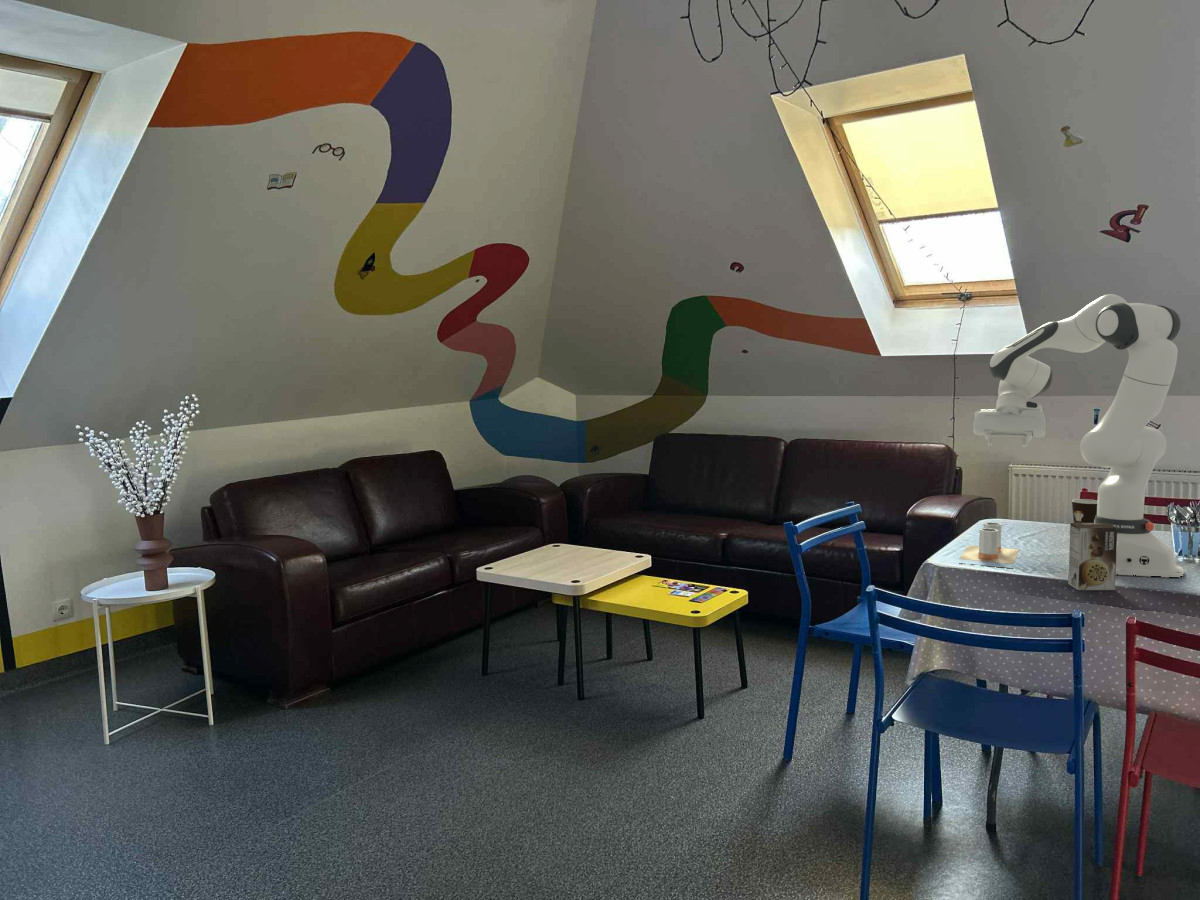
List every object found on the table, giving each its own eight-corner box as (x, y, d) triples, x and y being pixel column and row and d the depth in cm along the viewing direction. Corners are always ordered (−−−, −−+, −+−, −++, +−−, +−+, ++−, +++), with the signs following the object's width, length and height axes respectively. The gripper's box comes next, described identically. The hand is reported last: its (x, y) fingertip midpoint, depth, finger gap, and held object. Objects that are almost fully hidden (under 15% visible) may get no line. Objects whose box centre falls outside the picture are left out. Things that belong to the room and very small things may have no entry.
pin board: (1019, 554, 267) (1019, 536, 266) (1013, 569, 249) (1013, 549, 249) (968, 550, 274) (968, 532, 273) (958, 564, 256) (959, 544, 256)
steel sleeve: (998, 556, 258) (999, 529, 257) (996, 560, 254) (997, 532, 253) (979, 555, 260) (980, 527, 259) (977, 558, 256) (978, 530, 255)
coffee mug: (1065, 529, 303) (1066, 499, 302) (1091, 528, 303) (1092, 499, 301) (1083, 536, 291) (1085, 505, 290) (1110, 535, 291) (1112, 505, 290)
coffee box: (1104, 584, 233) (1107, 522, 231) (1115, 591, 226) (1118, 527, 224) (1066, 583, 233) (1069, 522, 232) (1077, 590, 227) (1080, 527, 225)
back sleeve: (1001, 549, 267) (1002, 522, 266) (999, 553, 262) (1000, 525, 262) (983, 548, 269) (984, 521, 268) (981, 551, 265) (982, 524, 264)
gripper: (974, 402, 283) (969, 436, 276) (1047, 404, 273) (1043, 439, 266) (975, 416, 288) (970, 450, 280) (1047, 417, 278) (1044, 453, 270)
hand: (1006, 444), depth 273 cm, fingers open, 8 cm apart
